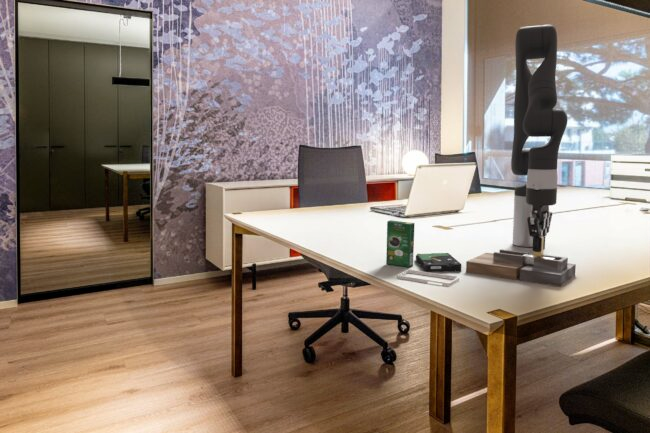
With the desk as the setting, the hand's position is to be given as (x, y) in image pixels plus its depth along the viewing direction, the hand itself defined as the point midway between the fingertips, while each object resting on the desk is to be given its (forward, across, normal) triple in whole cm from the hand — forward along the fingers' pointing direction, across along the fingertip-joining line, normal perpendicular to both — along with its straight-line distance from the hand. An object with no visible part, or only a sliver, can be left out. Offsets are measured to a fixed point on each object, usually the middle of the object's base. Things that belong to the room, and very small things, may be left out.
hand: (538, 250), depth 141 cm
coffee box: (+7, +11, -36) cm, 39 cm away
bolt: (+4, 0, 0) cm, 4 cm away
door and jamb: (+7, 0, -5) cm, 8 cm away
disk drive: (+8, +5, -27) cm, 29 cm away
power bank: (+8, +20, -22) cm, 31 cm away
